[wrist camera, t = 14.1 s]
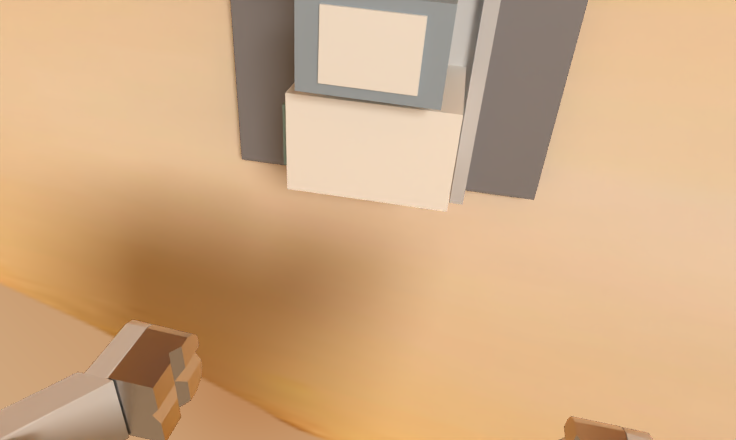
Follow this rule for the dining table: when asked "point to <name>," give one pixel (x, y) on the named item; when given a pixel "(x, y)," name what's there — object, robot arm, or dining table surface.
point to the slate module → (374, 49)
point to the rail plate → (503, 101)
